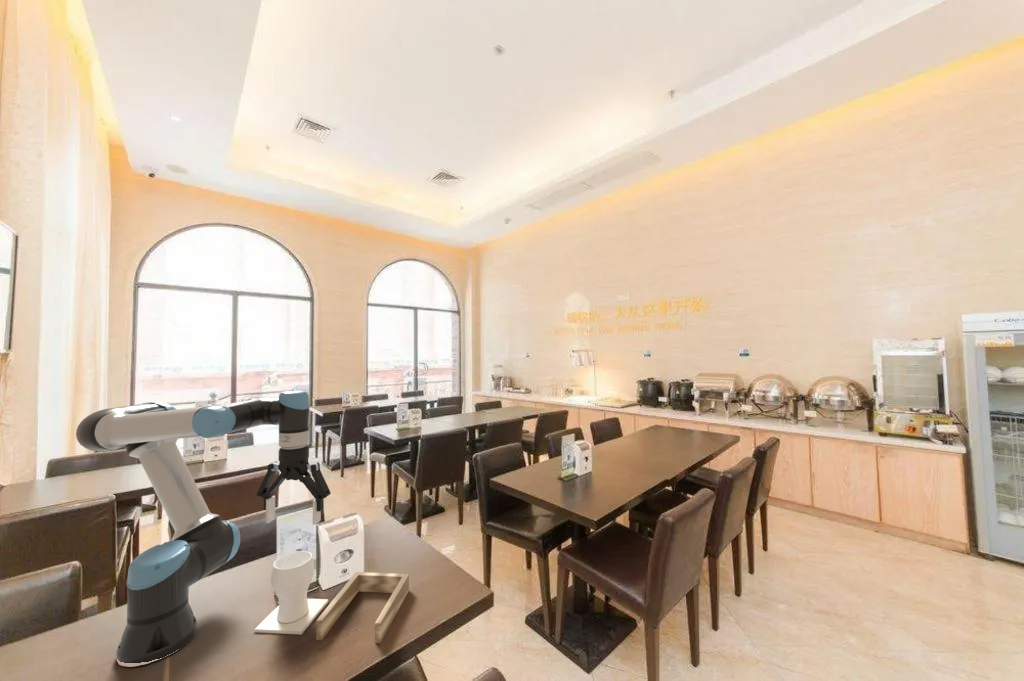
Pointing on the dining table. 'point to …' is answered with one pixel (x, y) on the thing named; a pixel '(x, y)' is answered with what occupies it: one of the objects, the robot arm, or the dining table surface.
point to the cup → (292, 584)
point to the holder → (367, 583)
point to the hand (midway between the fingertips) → (293, 521)
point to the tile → (296, 627)
